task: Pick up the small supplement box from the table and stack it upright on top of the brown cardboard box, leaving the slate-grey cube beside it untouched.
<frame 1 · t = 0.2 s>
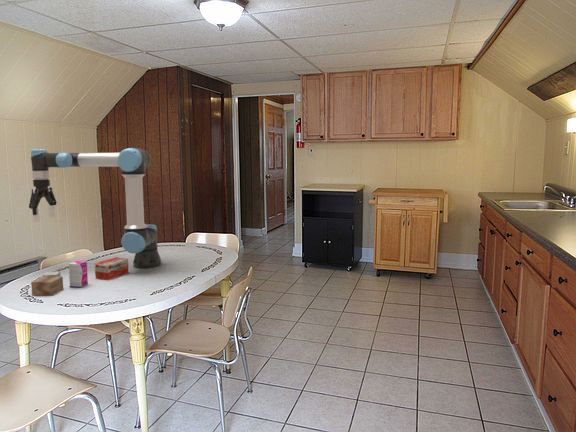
hand: (44, 219, 229), 28 cm above the table, tool pointing down, fingers open, 13 cm apart
brown cardboard box: (48, 292, 196), on the table
supplement box: (79, 286, 205), on the table
medicine box: (112, 276, 223), on the table
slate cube: (52, 285, 206), on the table
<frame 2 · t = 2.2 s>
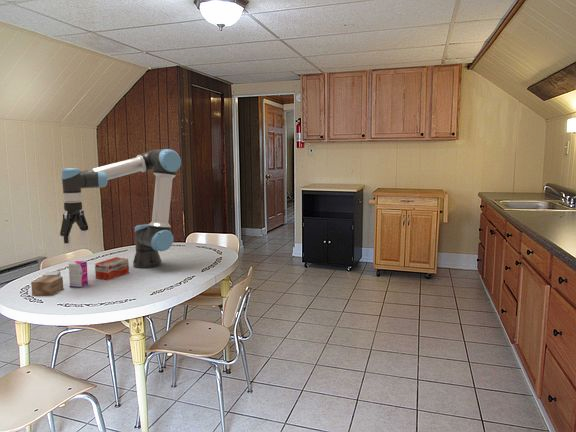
hand: (76, 247, 203), 19 cm above the table, tool pointing down, fingers open, 13 cm apart
nothing on the table moved.
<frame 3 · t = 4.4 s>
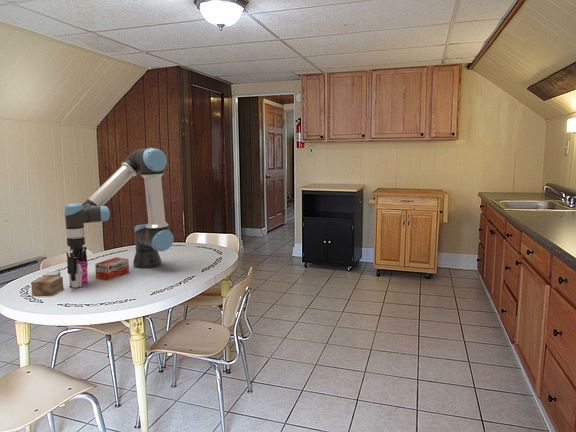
hand: (79, 284, 205), 0 cm above the table, tool pointing down, fingers closed on supplement box, 6 cm apart
supplement box: (79, 286, 205), on the table, touching gripper
everything else where it was.
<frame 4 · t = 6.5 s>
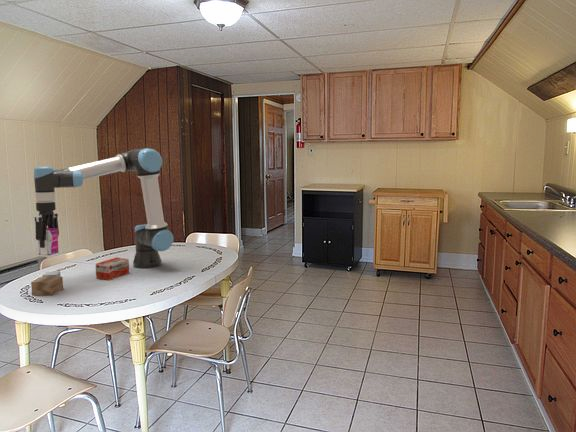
hand: (48, 252, 195), 18 cm above the table, tool pointing down, fingers closed on supplement box, 6 cm apart
supplement box: (49, 254, 195), point 17 cm above the table, touching gripper
everything else where it was.
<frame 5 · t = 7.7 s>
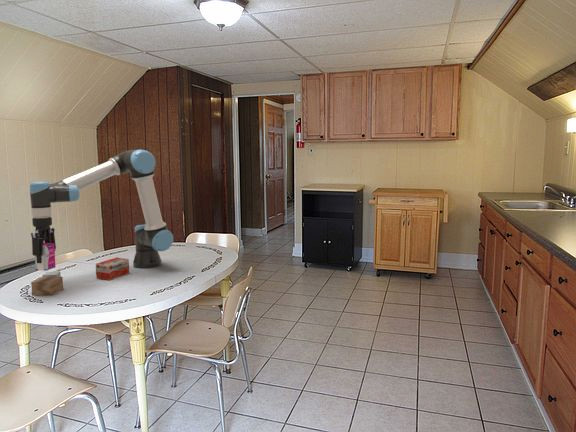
hand: (45, 267, 194), 11 cm above the table, tool pointing down, fingers closed on supplement box, 6 cm apart
supplement box: (46, 269, 194), point 11 cm above the table, touching gripper
everything else where it was.
when the fingers open (8 cm above the table, at t = 8.6 s): supplement box drops 2 cm, resting on brown cardboard box.
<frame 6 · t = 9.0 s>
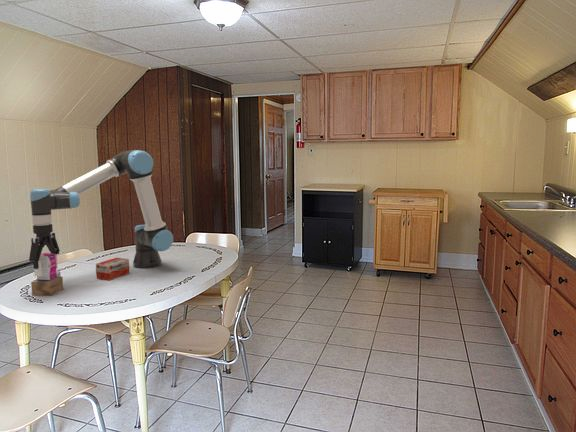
hand: (46, 272, 195), 9 cm above the table, tool pointing down, fingers open, 11 cm apart
supplement box: (47, 279, 195), point 6 cm above the table, touching brown cardboard box
everything else where it was.
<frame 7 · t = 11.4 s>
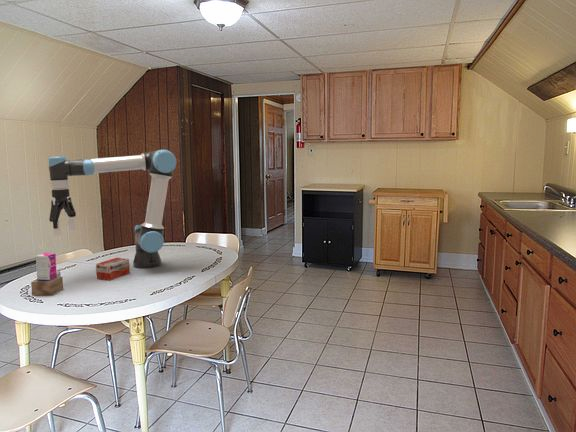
hand: (64, 232, 211), 24 cm above the table, tool pointing down, fingers open, 13 cm apart
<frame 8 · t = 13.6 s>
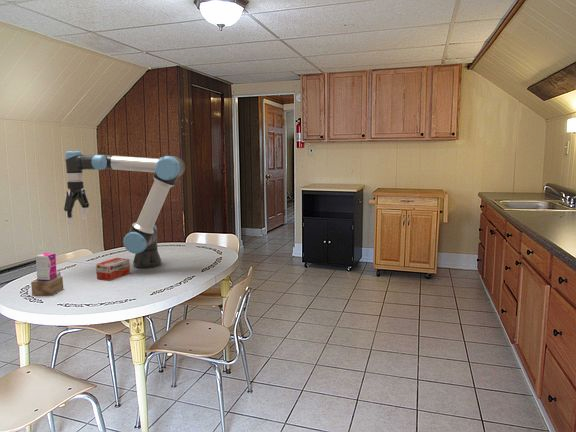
hand: (78, 221, 227), 27 cm above the table, tool pointing down, fingers open, 13 cm apart
at the end: supplement box inside the target area on the brown cardboard box (0.1 cm from its centre), point 5.8 cm above the brown cardboard box's base; supplement box tilted 0°; the gripper is holding nothing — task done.
